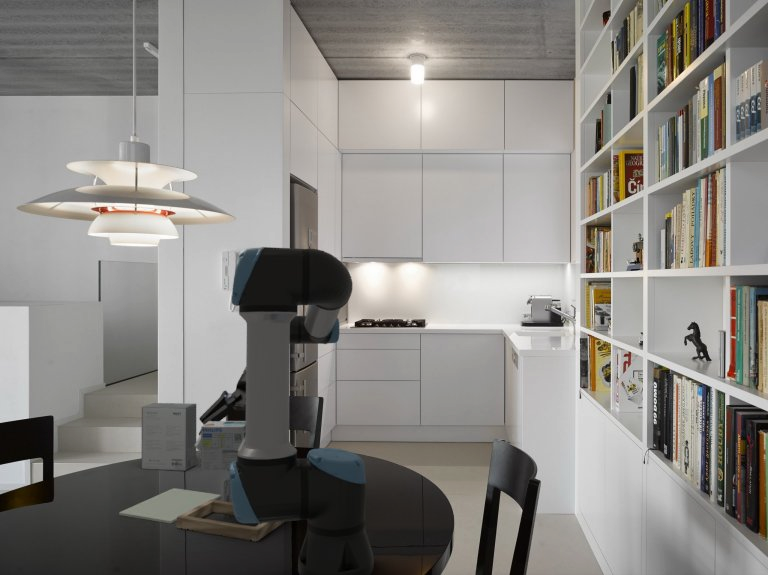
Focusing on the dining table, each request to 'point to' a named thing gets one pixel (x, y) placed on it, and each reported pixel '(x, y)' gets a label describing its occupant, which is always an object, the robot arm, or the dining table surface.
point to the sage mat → (168, 505)
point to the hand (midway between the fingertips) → (219, 451)
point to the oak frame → (197, 523)
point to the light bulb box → (221, 443)
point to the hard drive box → (168, 436)
